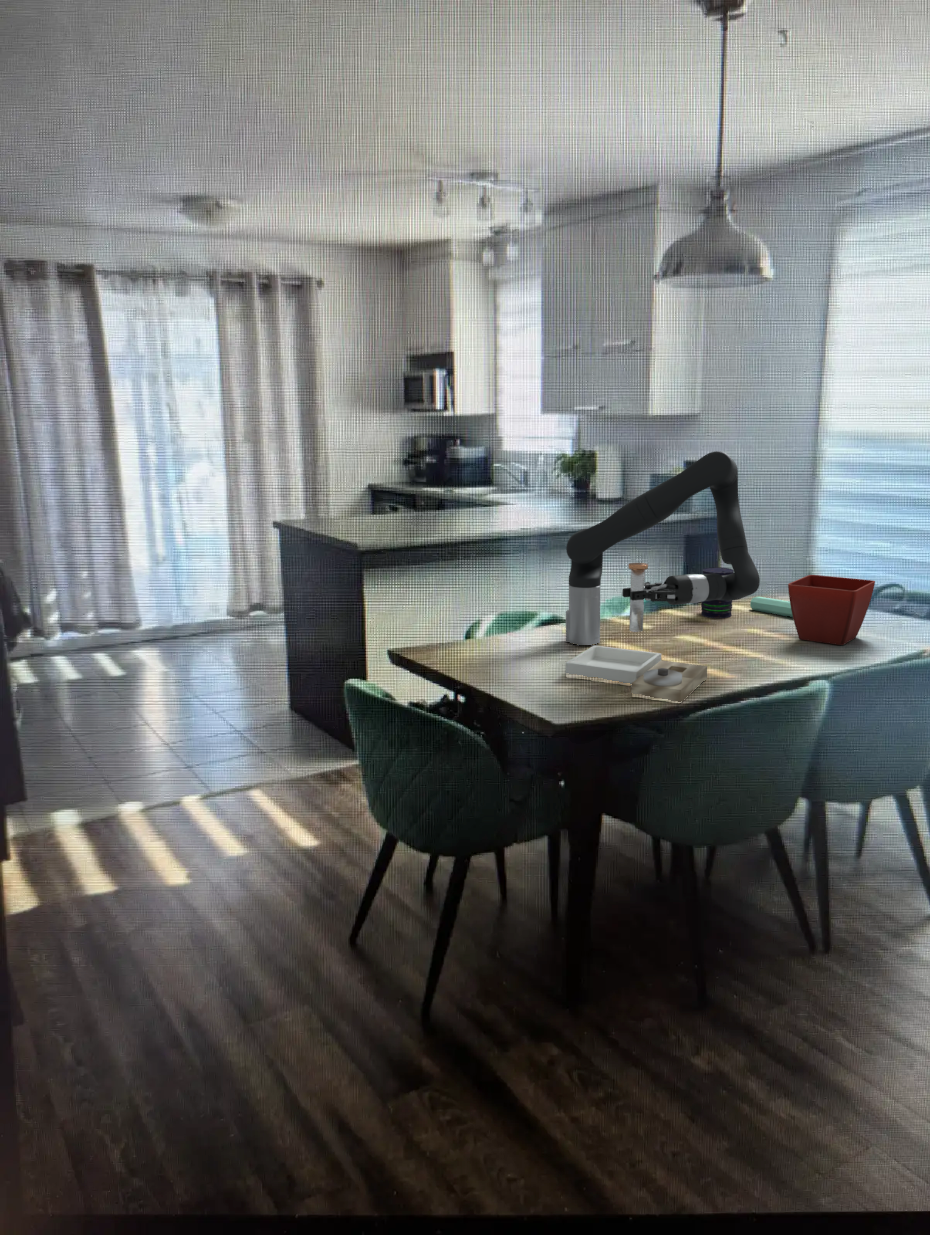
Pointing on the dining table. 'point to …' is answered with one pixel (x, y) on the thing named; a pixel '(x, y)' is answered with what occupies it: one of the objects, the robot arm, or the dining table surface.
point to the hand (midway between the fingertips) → (627, 594)
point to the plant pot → (829, 607)
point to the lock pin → (637, 605)
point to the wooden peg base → (670, 680)
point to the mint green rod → (771, 606)
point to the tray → (612, 663)
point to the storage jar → (717, 606)
